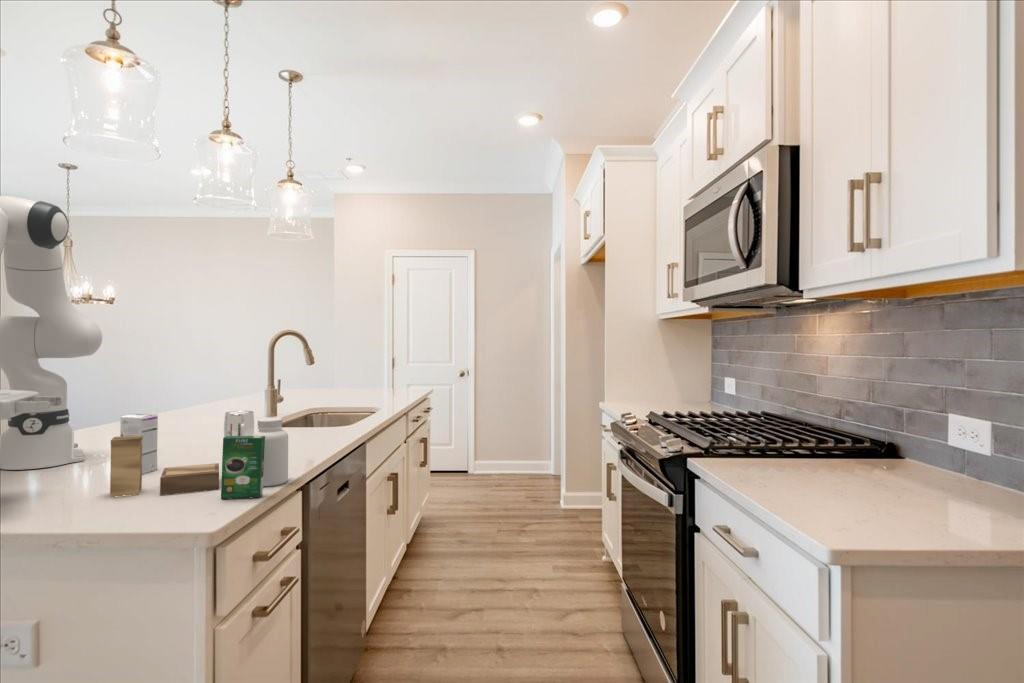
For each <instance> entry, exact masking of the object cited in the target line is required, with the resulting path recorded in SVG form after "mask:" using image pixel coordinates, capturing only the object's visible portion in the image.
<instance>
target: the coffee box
mask: <svg viewBox="0 0 1024 683" xmlns="http://www.w3.org/2000/svg"><path fill="white" fill-rule="evenodd" d="M264 449H265V436H225V437H224V436H223V440H222V456H221V457H222V458H221V459H222V460H221V461H222V462H221V484H220V485H221V486H220V488H221V489H220V499H221V500H226V499H228V500H230V499H229V498H233V499H254V498H253V497H260V498H261V497H262V496H261V495H263V492H264V490H263V489H264V487H263V471H264ZM250 497H252V498H250Z"/></svg>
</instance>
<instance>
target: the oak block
mask: <svg viewBox="0 0 1024 683" xmlns="http://www.w3.org/2000/svg"><path fill="white" fill-rule="evenodd" d="M142 439H143V435H138V436H121V437H120V436H113V438H112V439H111V440H110V475H109V476H110V477H109V478H110V480H109V482H110V483H109V485H110V487H109V489H110V490H109V498H110V497H113V498H116V497H115V496H123V495H132V496H135V495H134V494H139V493H140V494H141V492H142V490H143V489H142V488H143V486H142V485H143V484H142V483H143V474H142ZM140 491H141V492H140ZM140 494H139V495H140ZM123 497H124V496H123Z"/></svg>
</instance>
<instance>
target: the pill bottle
mask: <svg viewBox="0 0 1024 683" xmlns="http://www.w3.org/2000/svg"><path fill="white" fill-rule="evenodd" d="M282 428H283V418H279V417H268V418H260V419H257V430H256V431H254V434H253V435H252V436H265V449H264V471H263V486H266V487H273V486H274V487H275V486H279V485H282V484H285V483H287V482H288V480H289V434H288V432H287V431H286V430H284V429H282Z"/></svg>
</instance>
